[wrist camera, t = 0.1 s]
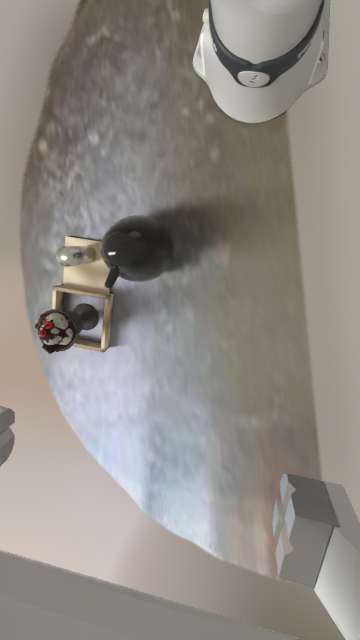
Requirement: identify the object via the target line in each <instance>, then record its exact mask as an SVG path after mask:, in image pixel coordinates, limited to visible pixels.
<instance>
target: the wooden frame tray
mask: <svg viewBox="0 0 360 640" xmlns="http://www.w3.org/2000/svg"><path fill="white" fill-rule="evenodd" d="M56 258H57V261H58V263H59V264H60V265H62V266H64V279H63V285H58V286H53V300H52V309H59V310H62V304H63V292H67V293H73V294H79V295H84V296H90V297H96V298H102V299H105V304H104V316H103V328H102V340H101V343H97V342H91V341H86V340H81V339H76V341H75V343H74V344H73V345H72V346H74V347H79V348H85V349H90V350H95V351H100V352H105V351H106V350H107V349H108V348H109V342H110V331H111V320H112V309H113V298H114V294H111V293H110V289H108V288H106V287H105V286H104V284H105V281H106V279H107V276H108V273H109V271H110V270H109V269H108V267H107V266H106V265H105V263H104V261H103V259H102V256H101V242H100V241H94V240H87V239H80V238H74V237H67V236H66V240H65V246H63V247H61V248H59V249H58V251H57V253H56Z"/></svg>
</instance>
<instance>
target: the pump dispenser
mask: <svg viewBox="0 0 360 640" xmlns="http://www.w3.org/2000/svg"><path fill="white" fill-rule="evenodd" d="M101 256H102V259H103V261H104V263H105V265H106V266H107V267H108V269H109V270H110V271H109V273H108V276H107V279H106V281H105V284H104V286H105V287H106V288H108V289H111V288H112V287H113V285H114V283H115V281H116V280H117V278H118V277H120V278H122V279H125V280H128V281H134V282H145V281H150V280H153V279H155V278H157V277H159V276H160V275H162V274H163V273H164V272H165V271H166V269H167V268H168V266H169V265H170V263H171V260H172V256H173V243H172V239H171V236H170V234H169V232H168V230H167V229H166V228H165V226H164V225H163V224H162V223H160V222H159V221H158V220H156V219H154V218H152V217H149V216H144V215H134V216H129V217H126V218H123V219H121V220H119V221H117V222H116V223H115V224H113V225H112V226H111V227H110V228H109V229H108V230H107V232H106V233H105V234H104V236H103V239H102V242H101Z"/></svg>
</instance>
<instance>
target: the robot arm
mask: <svg viewBox="0 0 360 640" xmlns="http://www.w3.org/2000/svg"><path fill="white" fill-rule="evenodd" d="M329 16H330V0H209V7H208V9H207V8H206V9H205V10H204V14H203V22H204V25H203V28H202V31H201V35H200V38H199V41H198V45H197V48H196V51H195V55H194V58H193V67H194V70H195V71H196V73H197V74H198V75H199V76H200V77H201V78H202V79H203V80H204V81H206V83H207V84H208V86H209V88H210V91H211V93H212V96H213V98H214V100H215V101H216V103H217V104H218V106H219V107H220V108H221V109H222V110H223V111H224V112H225V113H226V114H227V115H229V116H230V117H232V118H234V119H236V120H239V121H242V122H247V123H259V122H264V121H268V120H271V119H273V118H275V117H277V116H279V115H281V114H282V113H284V112H285V111H286V110H287V109H289V108H290V107H291V106H292V105H293V104H294V103H295V101H296V100H297V99H298V98H299V97H300V96H301V94H302V93H303V92H304V91H306V90H307V89H309V88H311V87H313V86H314V85H316V84H318V83H319V82H320V81H322V80H323V79H324V77H325V76H326V72H327V69H328V44H329ZM201 54H202V55H201ZM319 60H320V61H321V63H320V64H318V61H319ZM14 422H15V415H14V412H13V411H12V410H11V409H9V408H5V407H1V406H0V466H1V465H2V464H3V463H4V462H5V461H6V460H7V459H8V457H9V455H10V453H11V451H12V449H13V445H14V434H13V432H12V430H11V429H10V427H11V426H12V425H13V424H14ZM280 490H281V496H280V497H278V498H277V499H276V503H275V507H274V514H273V535H274V538H275V540H276V541H277V542H278V545H277V549H276V561H277V569H278V577H279V578H282V579H285V580H288V581H292V582H295V583H298V584H302V585H305V586H308V587H311V588H315V589H314V591H315V592H316V594H317V595H318V597H319V598H320V600H321V602H322V603H323V605H324V606H325V608H326V609H327V611H328V612H329V614H330V616H331V617H332V619H333V620H334V622H335V623H336V625H337V626H338V628H339V630H340V631H341V633H342V634H343V636H344V637H345V639H346V640H360V523H359V521H358V519H357V516H356V514H355V512H354V509H353V507H352V505H351V502H350V500H349V498H348V495H347V493H346V491H345V489H344V487H343V486H342V485H341V484H336V483H331V482H326V481H319V480H314V479H310V478H305V477H300V476H296V475H291V474H287V473H284V474H283V476H282V479H281V483H280ZM0 640H304V639H300V638H297V637H294V636H290V635H287V634H284V633H280V632H277V631H273V630H269V629H266V628H263V627H259V626H256V625H252V624H249V623H245V622H242V621H238V620H235V619H232V618H229V617H225V616H222V615H218V614H215V613H212V612H208V611H205V610H202V609H198V608H195V607H192V606H188V605H185V604H181V603H178V602H174V601H171V600H168V599H165V598H161V597H158V596H155V595H151V594H148V593H145V592H141V591H138V590H134V589H131V588H128V587H124V586H121V585H117V584H114V583H111V582H108V581H104V580H101V579H97V578H94V577H90V576H87V575H83V574H80V573H77V572H73V571H70V570H67V569H63V568H60V567H56V566H53V565H50V564H46V563H43V562H39V561H36V560H33V559H29V558H26V557H22V556H19V555H16V554H12V553H9V552H5V551H1V550H0Z"/></svg>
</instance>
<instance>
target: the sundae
mask: <svg viewBox="0 0 360 640" xmlns="http://www.w3.org/2000/svg"><path fill="white" fill-rule="evenodd" d="M97 322H98V315H97V312H96V310H95V309H94V308H93V307H92V306H90V305H88V304H80V305H78V306H76V307H75V309H74V311H73V312H63V311H62V310H59V309H52V310H49V311H47V312H45V313H43V314H41V315H40V318H39V320H38V324H36V325H35V328H37V326H38V328H37V329H38V335H39V338H40V340H41V342H42V343H43V344H44V345H43V346H42V348H43V349H44V350H45V351H47V352H48V353H49V354H51V353H53V352H54V351H56V352H59V351H65V350H67V349H69V348H70V347H71V346H72V345H73V344H74V343H75V341H76V339H77V336H78V334H79V333H80V332H81V330H82V329H83V330H90V329H92V328H94V327H95V326H96V324H97Z"/></svg>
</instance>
